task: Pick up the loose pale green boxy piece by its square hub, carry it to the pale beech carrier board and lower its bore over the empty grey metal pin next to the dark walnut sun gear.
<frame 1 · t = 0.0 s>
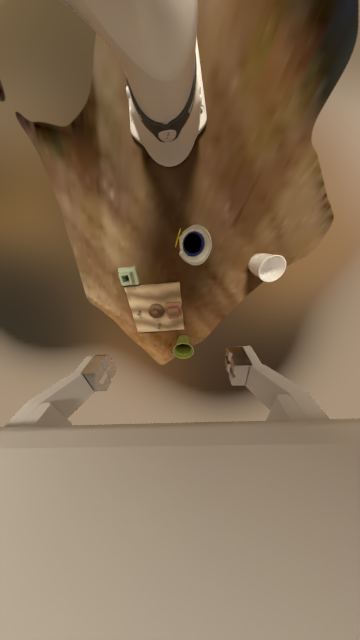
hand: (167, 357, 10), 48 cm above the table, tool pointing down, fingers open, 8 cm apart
white cup: (257, 263, 51), on the table
water bottle: (190, 242, 48), on the table
plant pot: (183, 338, 70), on the table
carrier: (157, 308, 62), on the table
pale green boxy piece: (130, 275, 54), on the table
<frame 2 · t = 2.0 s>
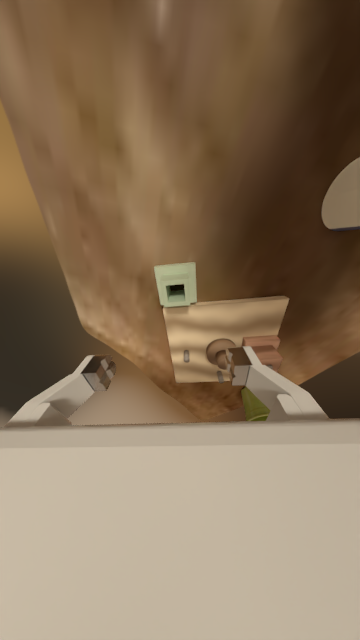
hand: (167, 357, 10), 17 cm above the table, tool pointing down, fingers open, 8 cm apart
water bottle: (351, 198, 18), on the table
plant pot: (251, 389, 41), on the table
carrier: (219, 345, 32), on the table
pale green boxy piece: (177, 283, 24), on the table
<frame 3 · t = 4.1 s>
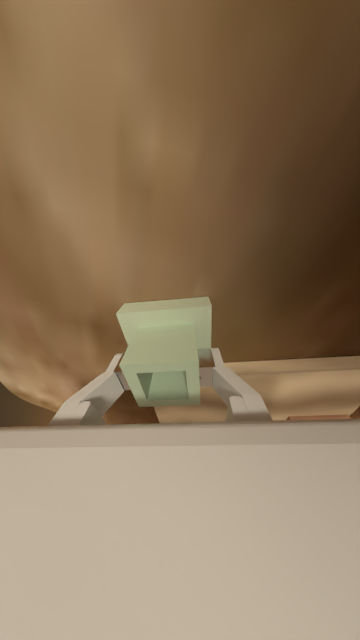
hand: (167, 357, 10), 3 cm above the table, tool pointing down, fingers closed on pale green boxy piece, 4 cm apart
carrier: (242, 416, 19), on the table
pale green boxy piece: (170, 334, 12), on the table, touching gripper
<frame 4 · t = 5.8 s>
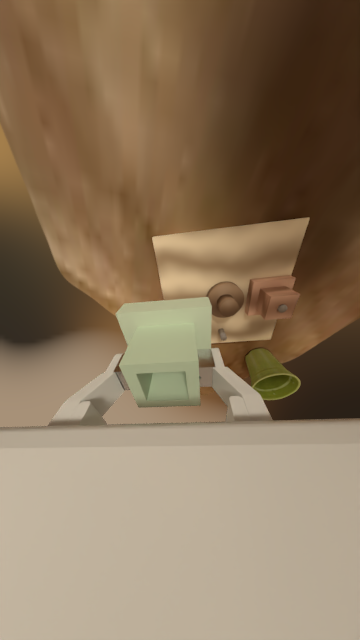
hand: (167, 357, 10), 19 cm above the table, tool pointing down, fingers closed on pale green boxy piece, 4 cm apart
plant pot: (256, 355, 36), on the table
carrier: (221, 295, 27), on the table
pale green boxy piece: (170, 334, 12), point 16 cm above the table, touching gripper
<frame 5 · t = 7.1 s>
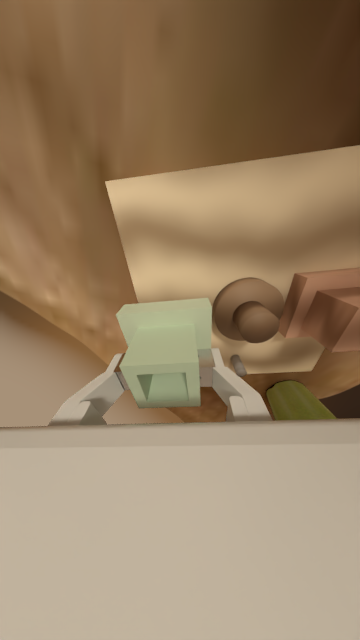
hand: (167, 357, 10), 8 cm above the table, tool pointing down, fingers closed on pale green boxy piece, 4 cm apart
plant pot: (282, 389, 25), on the table
carrier: (237, 302, 16), on the table
pale green boxy piece: (171, 334, 12), point 5 cm above the table, touching gripper
when the fingers open (5 cm above the table, at t = 7.9 s): pale green boxy piece stays where it is, resting on carrier.
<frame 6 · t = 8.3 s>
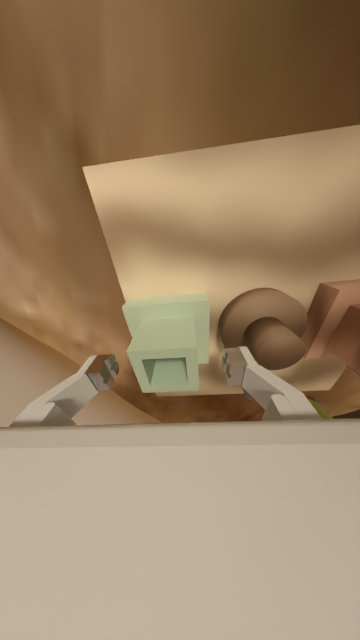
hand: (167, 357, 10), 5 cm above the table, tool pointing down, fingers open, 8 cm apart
carrier: (247, 314, 14), on the table
pale green boxy piece: (171, 328, 13), point 1 cm above the table, touching carrier
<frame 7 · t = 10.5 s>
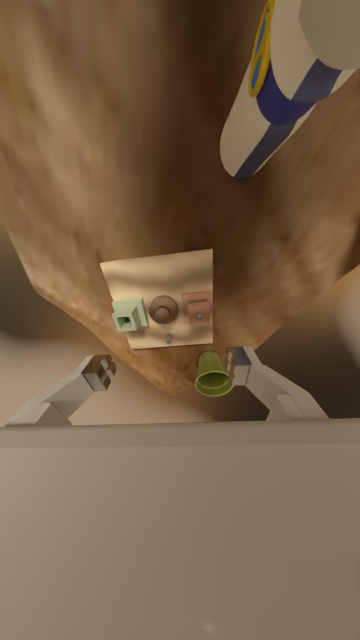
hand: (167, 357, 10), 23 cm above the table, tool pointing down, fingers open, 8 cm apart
water bottle: (244, 145, 21), on the table
plant pot: (208, 358, 42), on the table
carrier: (164, 306, 33), on the table
pale green boxy piece: (132, 311, 33), point 1 cm above the table, touching carrier
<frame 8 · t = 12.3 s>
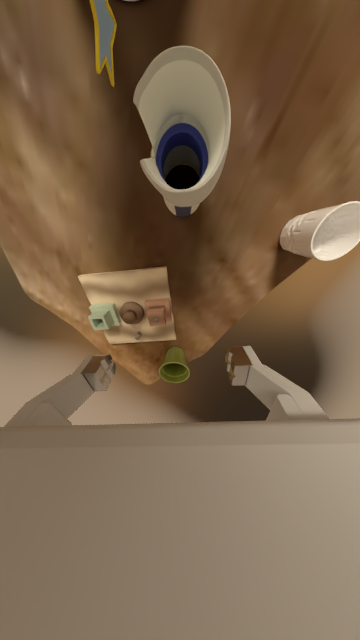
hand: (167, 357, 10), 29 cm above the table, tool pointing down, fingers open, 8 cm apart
white cup: (294, 234, 31), on the table
water bottle: (182, 194, 28), on the table
plant pot: (175, 352, 50), on the table
carrier: (134, 309, 41), on the table
pale green boxy piece: (107, 313, 40), point 1 cm above the table, touching carrier
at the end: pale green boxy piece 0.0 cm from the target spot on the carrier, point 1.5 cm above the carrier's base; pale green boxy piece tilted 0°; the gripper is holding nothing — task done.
